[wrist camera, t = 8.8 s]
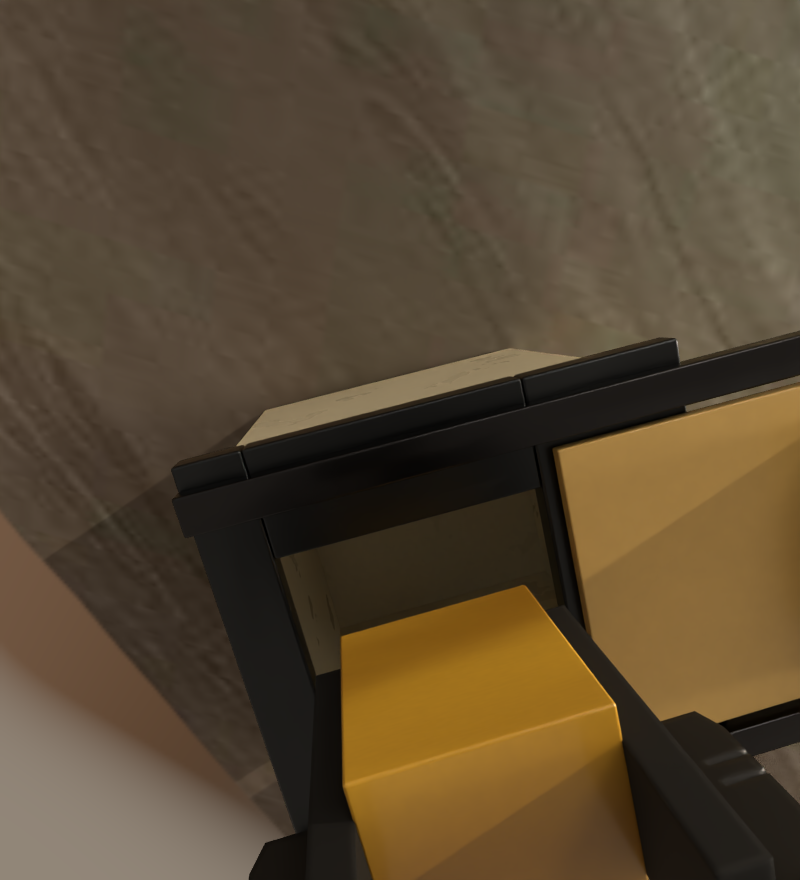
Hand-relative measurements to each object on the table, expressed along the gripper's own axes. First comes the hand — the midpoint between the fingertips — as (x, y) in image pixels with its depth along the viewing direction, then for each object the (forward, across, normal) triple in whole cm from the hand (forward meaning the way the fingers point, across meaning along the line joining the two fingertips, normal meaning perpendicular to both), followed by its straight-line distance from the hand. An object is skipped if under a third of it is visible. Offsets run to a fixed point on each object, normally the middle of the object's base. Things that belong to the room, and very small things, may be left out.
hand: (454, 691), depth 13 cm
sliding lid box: (+14, +4, 0) cm, 15 cm away
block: (0, 0, 0) cm, 0 cm away
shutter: (+2, +8, 0) cm, 8 cm away
